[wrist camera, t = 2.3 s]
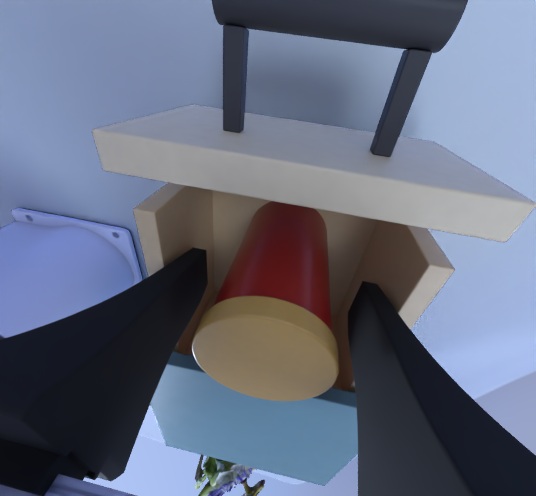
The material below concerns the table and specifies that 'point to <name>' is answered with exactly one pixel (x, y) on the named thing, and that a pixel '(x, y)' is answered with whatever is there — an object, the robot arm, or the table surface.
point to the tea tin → (273, 311)
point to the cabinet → (255, 424)
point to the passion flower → (224, 477)
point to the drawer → (314, 167)
